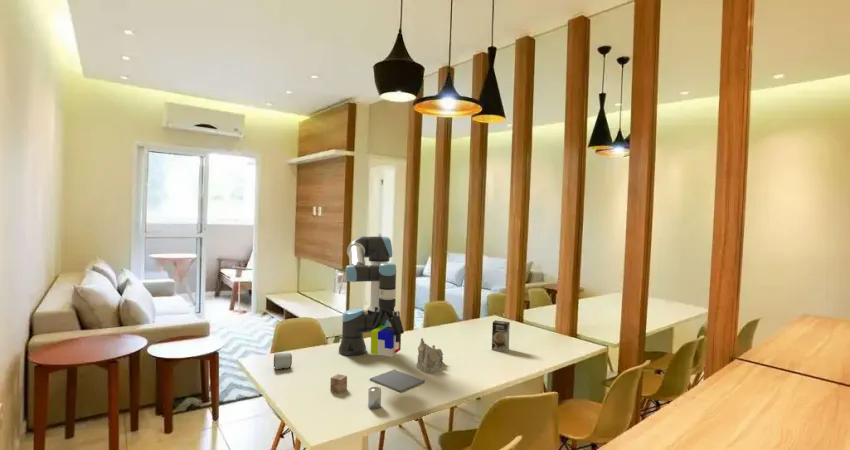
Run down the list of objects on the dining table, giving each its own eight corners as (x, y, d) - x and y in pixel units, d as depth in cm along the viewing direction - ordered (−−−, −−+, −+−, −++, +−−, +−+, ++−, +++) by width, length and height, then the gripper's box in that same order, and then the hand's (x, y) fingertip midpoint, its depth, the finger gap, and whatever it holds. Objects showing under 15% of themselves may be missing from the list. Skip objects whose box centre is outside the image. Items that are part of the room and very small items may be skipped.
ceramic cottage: (425, 374, 204) (426, 343, 205) (411, 364, 219) (413, 335, 220) (453, 372, 211) (454, 341, 211) (438, 362, 226) (439, 334, 226)
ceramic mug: (292, 369, 208) (292, 353, 208) (274, 371, 204) (275, 355, 204) (289, 363, 217) (289, 348, 217) (272, 365, 214) (272, 349, 214)
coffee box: (491, 350, 244) (491, 322, 244) (493, 347, 250) (494, 319, 250) (507, 352, 241) (507, 324, 241) (509, 349, 247) (509, 321, 247)
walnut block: (330, 391, 183) (330, 377, 183) (337, 387, 187) (337, 373, 187) (339, 393, 180) (339, 379, 180) (346, 389, 185) (347, 376, 185)
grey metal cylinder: (365, 406, 168) (365, 389, 168) (374, 402, 172) (375, 385, 172) (374, 410, 165) (374, 393, 165) (383, 406, 169) (383, 389, 169)
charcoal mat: (369, 380, 196) (369, 378, 196) (394, 371, 208) (394, 369, 208) (400, 392, 183) (400, 390, 183) (424, 382, 195) (424, 380, 195)
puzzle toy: (391, 356, 183) (391, 333, 183) (370, 353, 187) (371, 331, 186) (400, 349, 193) (401, 328, 192) (380, 346, 196) (381, 325, 196)
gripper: (363, 295, 195) (362, 341, 195) (400, 303, 178) (399, 354, 179) (375, 293, 200) (374, 338, 201) (412, 301, 184) (411, 350, 185)
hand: (386, 345), depth 190 cm, fingers closed on puzzle toy, 12 cm apart
